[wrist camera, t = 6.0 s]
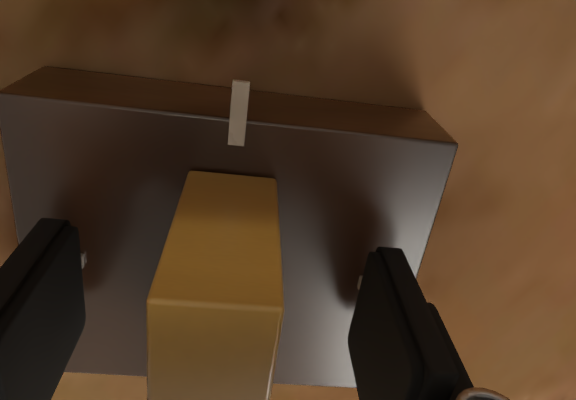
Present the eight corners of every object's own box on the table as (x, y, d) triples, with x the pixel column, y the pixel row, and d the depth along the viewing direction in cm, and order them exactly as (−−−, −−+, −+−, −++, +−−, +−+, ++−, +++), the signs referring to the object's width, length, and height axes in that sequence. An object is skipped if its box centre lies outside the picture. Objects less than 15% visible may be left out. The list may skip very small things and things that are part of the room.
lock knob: (188, 168, 11) (140, 311, 7) (277, 177, 11) (285, 320, 7) (182, 349, 13) (144, 535, 9) (254, 353, 13) (250, 538, 9)
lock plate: (435, 79, 13) (474, 109, 10) (361, 349, 17) (377, 413, 15) (38, 30, 12) (-18, 51, 9) (70, 331, 16) (37, 397, 14)
